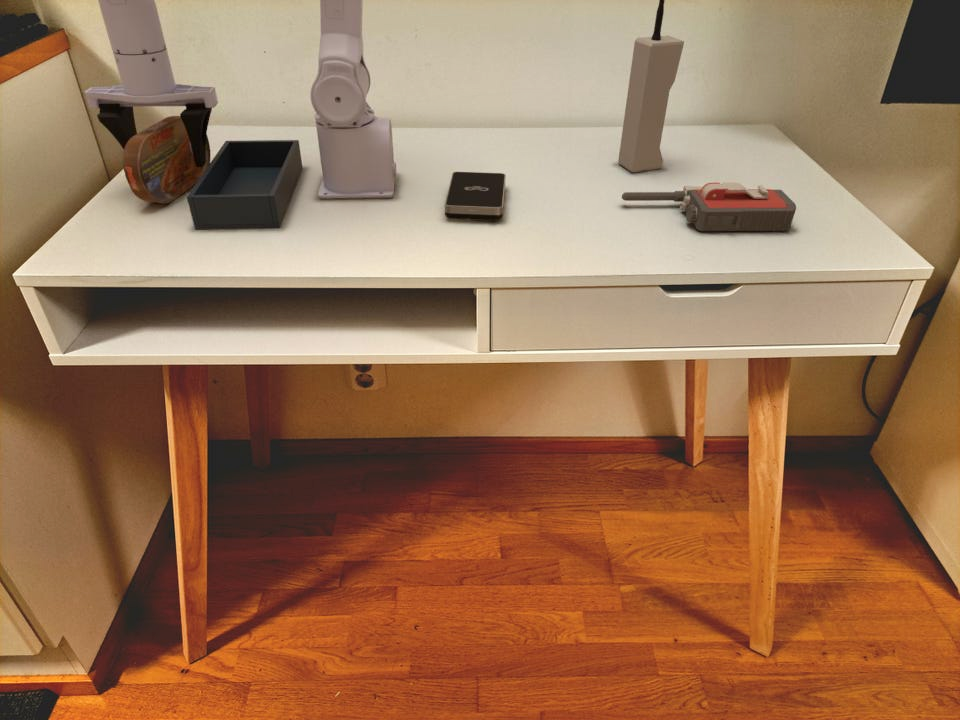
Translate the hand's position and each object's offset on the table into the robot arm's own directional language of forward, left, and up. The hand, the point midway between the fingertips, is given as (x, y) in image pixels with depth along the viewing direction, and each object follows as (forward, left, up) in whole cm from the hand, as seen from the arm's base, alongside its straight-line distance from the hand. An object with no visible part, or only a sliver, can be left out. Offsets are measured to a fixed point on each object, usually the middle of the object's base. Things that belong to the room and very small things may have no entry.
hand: (170, 164), depth 86 cm
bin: (-10, +2, -3) cm, 11 cm away
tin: (0, 0, -3) cm, 3 cm away
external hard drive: (-39, +6, -3) cm, 39 cm away
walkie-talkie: (-67, +11, -3) cm, 67 cm away
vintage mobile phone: (-63, -6, -3) cm, 63 cm away
